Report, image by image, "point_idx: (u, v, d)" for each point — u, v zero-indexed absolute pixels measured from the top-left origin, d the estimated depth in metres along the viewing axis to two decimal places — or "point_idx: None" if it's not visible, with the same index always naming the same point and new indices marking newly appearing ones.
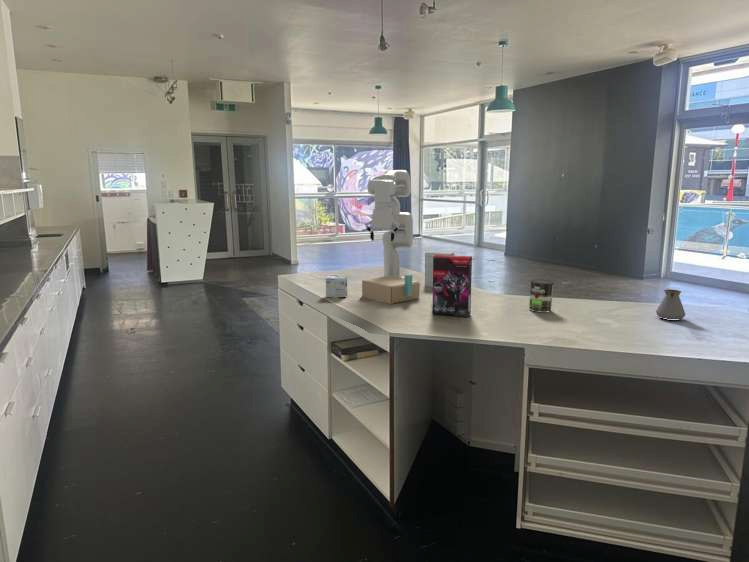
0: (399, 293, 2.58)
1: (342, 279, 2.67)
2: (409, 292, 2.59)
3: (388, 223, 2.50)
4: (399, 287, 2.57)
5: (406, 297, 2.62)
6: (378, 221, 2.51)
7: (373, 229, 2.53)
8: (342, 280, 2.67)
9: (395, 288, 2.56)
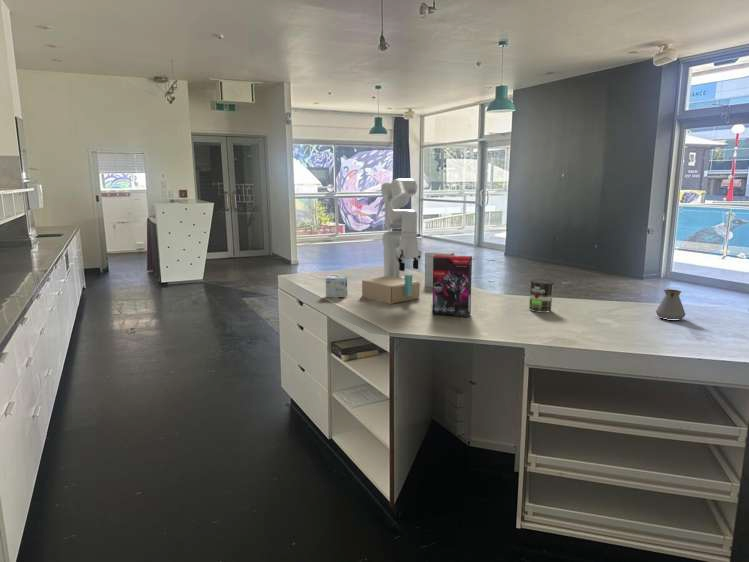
0: (399, 293, 2.58)
1: (342, 279, 2.67)
2: (409, 292, 2.59)
3: (416, 252, 2.57)
4: (399, 287, 2.57)
5: (406, 297, 2.62)
6: (410, 251, 2.53)
7: (404, 259, 2.53)
8: (342, 280, 2.67)
9: (395, 288, 2.56)
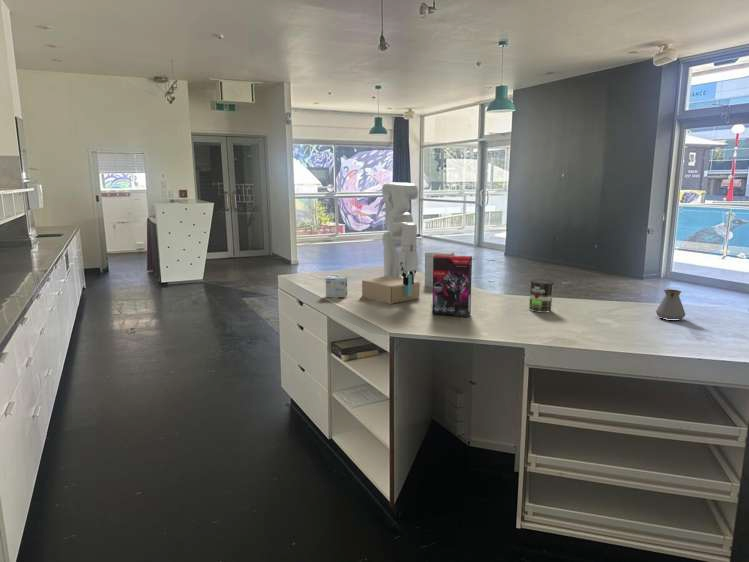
0: (399, 293, 2.58)
1: (342, 279, 2.67)
2: (409, 292, 2.59)
3: (416, 264, 2.58)
4: (399, 287, 2.57)
5: (406, 297, 2.62)
6: (409, 263, 2.55)
7: (407, 273, 2.56)
8: (342, 280, 2.67)
9: (395, 288, 2.56)
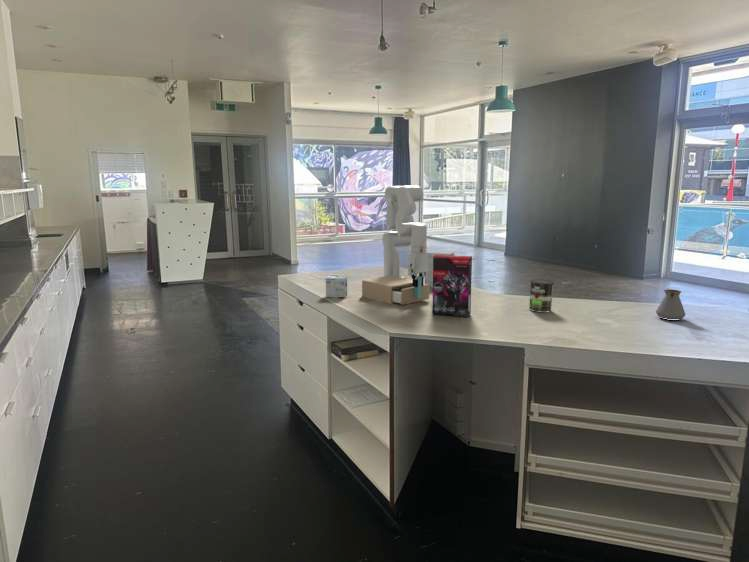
0: (409, 295, 2.53)
1: (342, 279, 2.67)
2: (419, 294, 2.54)
3: (426, 266, 2.53)
4: (409, 289, 2.52)
5: (415, 299, 2.57)
6: (419, 265, 2.50)
7: (417, 274, 2.51)
8: (342, 280, 2.67)
9: (404, 290, 2.51)
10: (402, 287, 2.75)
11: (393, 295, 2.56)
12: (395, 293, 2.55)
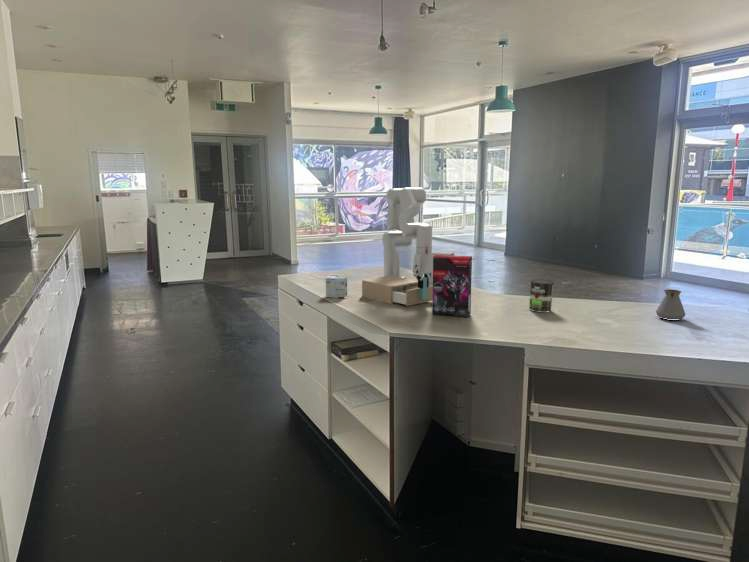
0: (414, 296, 2.51)
1: (342, 279, 2.67)
2: (424, 295, 2.52)
3: (431, 267, 2.51)
4: (414, 290, 2.50)
5: (421, 300, 2.54)
6: (424, 266, 2.47)
7: (422, 275, 2.49)
8: (342, 280, 2.67)
9: (410, 291, 2.48)
10: (407, 288, 2.72)
11: (398, 296, 2.53)
12: (400, 294, 2.52)
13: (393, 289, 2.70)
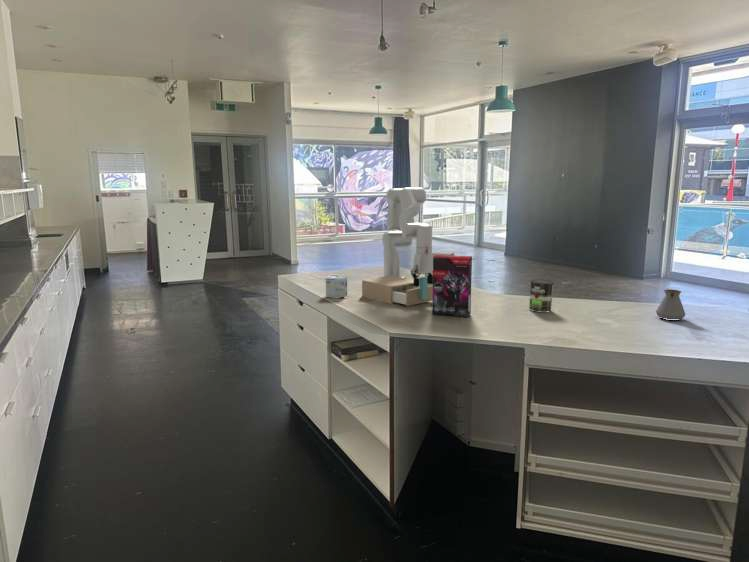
0: (414, 296, 2.51)
1: (342, 279, 2.67)
2: (424, 295, 2.52)
3: (431, 267, 2.51)
4: (414, 290, 2.50)
5: (421, 300, 2.54)
6: (424, 266, 2.47)
7: (419, 275, 2.47)
8: (342, 280, 2.67)
9: (410, 291, 2.48)
10: (407, 288, 2.72)
11: (398, 296, 2.53)
12: (400, 294, 2.52)
13: (393, 289, 2.70)
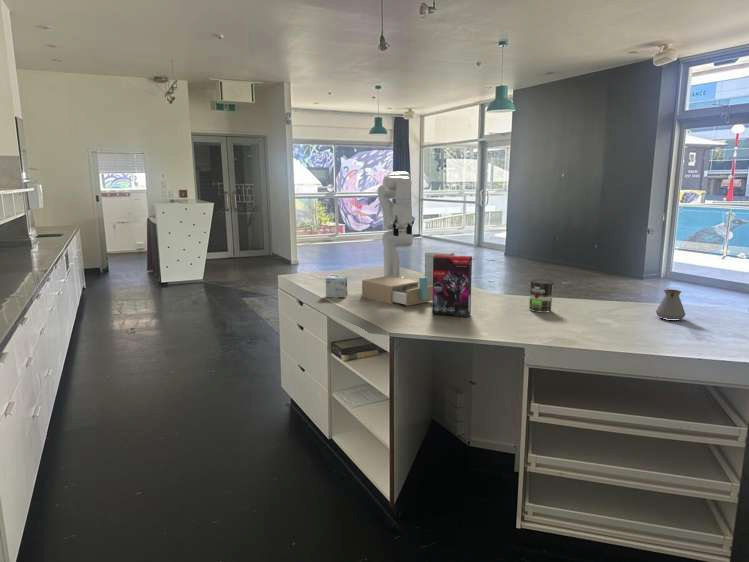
0: (414, 296, 2.51)
1: (342, 279, 2.67)
2: (424, 295, 2.52)
3: (410, 218, 2.66)
4: (414, 290, 2.50)
5: (421, 300, 2.54)
6: (404, 217, 2.62)
7: (398, 225, 2.62)
8: (342, 280, 2.67)
9: (410, 291, 2.48)
10: (407, 288, 2.72)
11: (398, 296, 2.53)
12: (400, 294, 2.52)
13: (393, 289, 2.70)
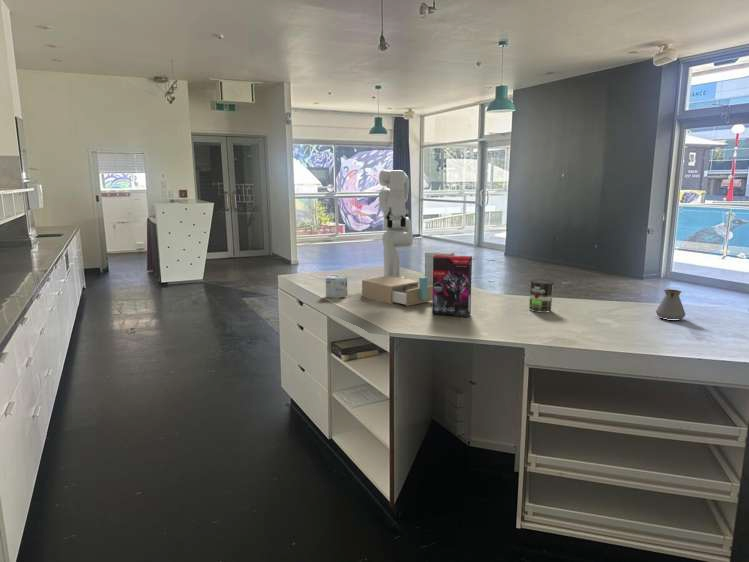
0: (414, 296, 2.51)
1: (342, 279, 2.67)
2: (424, 295, 2.52)
3: (404, 210, 2.71)
4: (414, 290, 2.50)
5: (421, 300, 2.54)
6: (397, 209, 2.68)
7: (392, 216, 2.67)
8: (342, 280, 2.67)
9: (410, 291, 2.48)
10: (407, 288, 2.72)
11: (398, 296, 2.53)
12: (400, 294, 2.52)
13: (393, 289, 2.70)
